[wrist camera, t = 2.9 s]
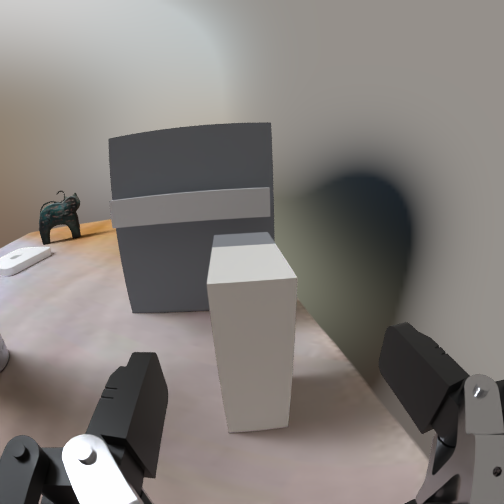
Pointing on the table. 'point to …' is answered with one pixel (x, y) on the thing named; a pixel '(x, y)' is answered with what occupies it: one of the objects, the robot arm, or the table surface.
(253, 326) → the white block
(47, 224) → the ceramic cat
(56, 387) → the table surface
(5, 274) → the mac mini
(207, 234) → the wall board
